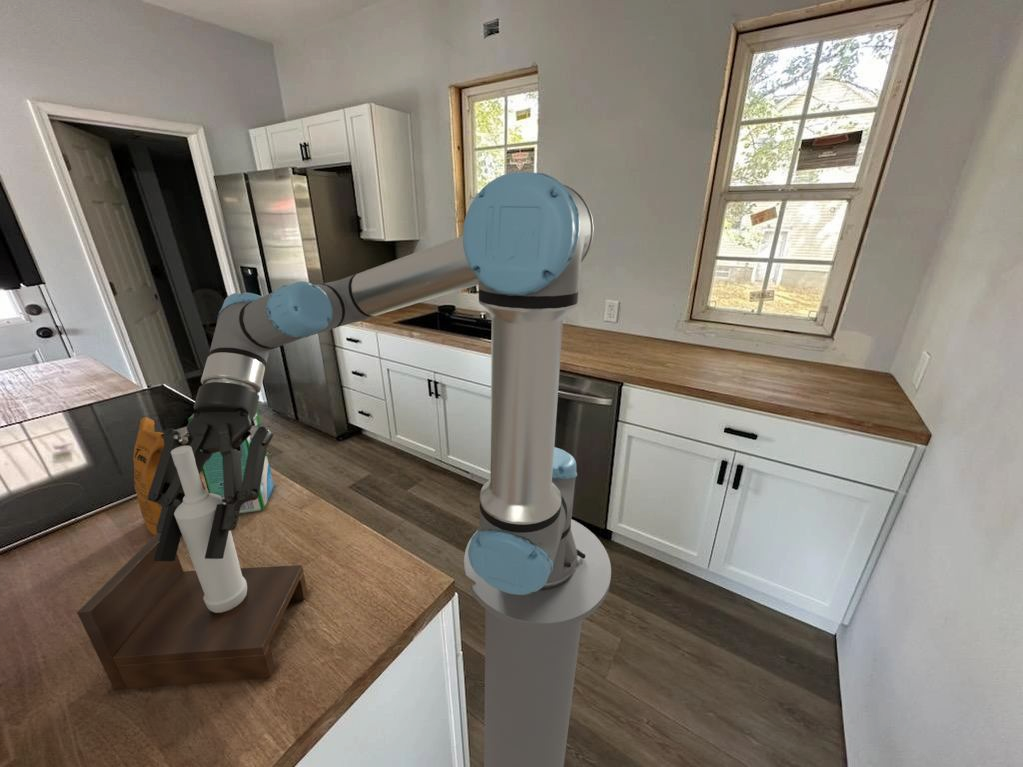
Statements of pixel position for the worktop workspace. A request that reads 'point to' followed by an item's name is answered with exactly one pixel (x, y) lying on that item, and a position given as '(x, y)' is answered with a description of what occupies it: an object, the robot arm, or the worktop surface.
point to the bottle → (206, 538)
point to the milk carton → (216, 480)
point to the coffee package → (147, 470)
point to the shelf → (185, 624)
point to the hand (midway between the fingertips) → (189, 559)
